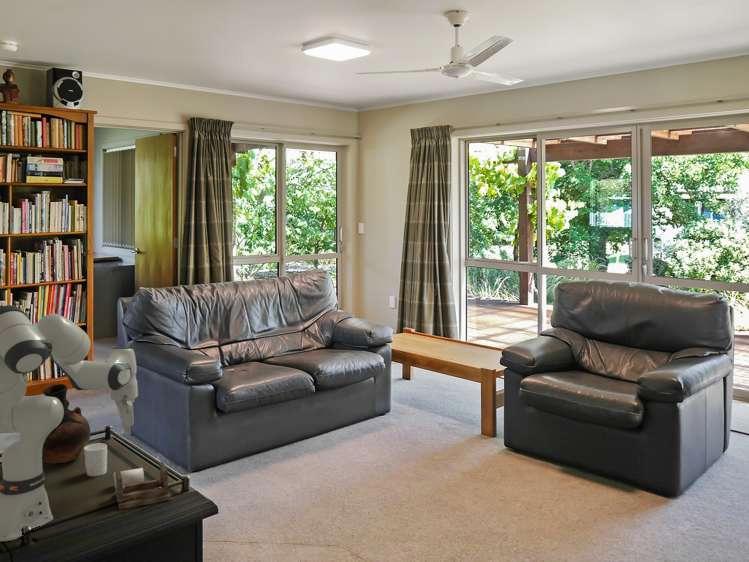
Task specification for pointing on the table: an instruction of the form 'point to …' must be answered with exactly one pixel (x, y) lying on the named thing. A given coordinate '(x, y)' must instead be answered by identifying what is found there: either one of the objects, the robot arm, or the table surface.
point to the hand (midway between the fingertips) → (126, 431)
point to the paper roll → (130, 477)
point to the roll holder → (143, 490)
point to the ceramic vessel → (65, 431)
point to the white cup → (96, 459)
